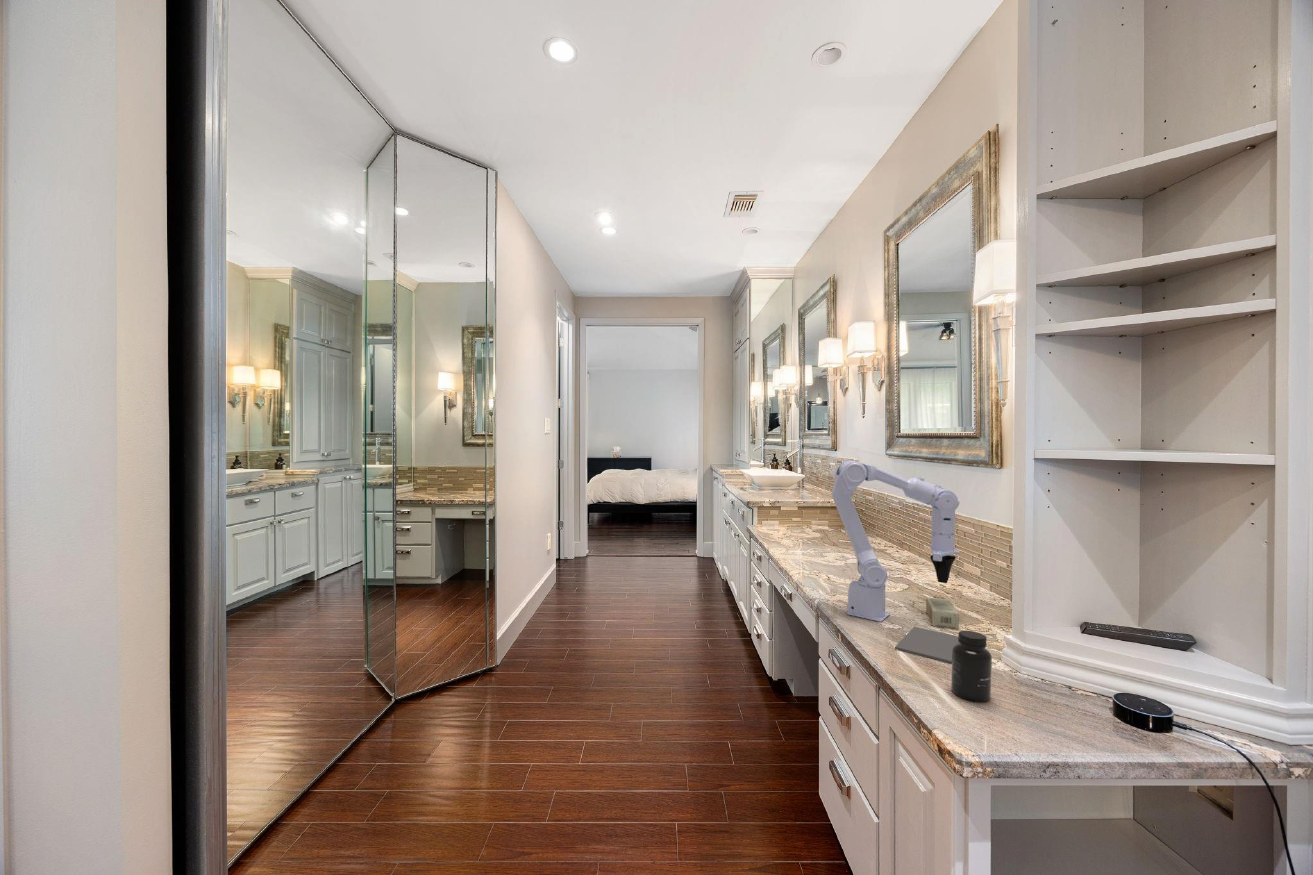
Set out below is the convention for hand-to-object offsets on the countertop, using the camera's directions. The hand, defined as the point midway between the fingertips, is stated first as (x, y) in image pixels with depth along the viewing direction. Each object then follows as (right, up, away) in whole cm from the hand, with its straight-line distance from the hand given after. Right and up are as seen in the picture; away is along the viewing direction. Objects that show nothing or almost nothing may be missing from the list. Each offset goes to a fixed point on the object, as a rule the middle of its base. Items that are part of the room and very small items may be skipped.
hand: (942, 582), depth 149 cm
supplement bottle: (-16, -12, -41) cm, 46 cm away
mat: (-11, -11, -17) cm, 23 cm away
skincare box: (-2, -9, -6) cm, 11 cm away
